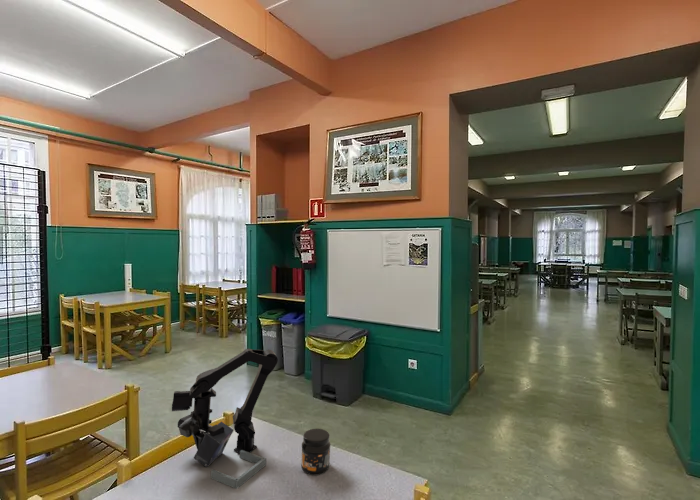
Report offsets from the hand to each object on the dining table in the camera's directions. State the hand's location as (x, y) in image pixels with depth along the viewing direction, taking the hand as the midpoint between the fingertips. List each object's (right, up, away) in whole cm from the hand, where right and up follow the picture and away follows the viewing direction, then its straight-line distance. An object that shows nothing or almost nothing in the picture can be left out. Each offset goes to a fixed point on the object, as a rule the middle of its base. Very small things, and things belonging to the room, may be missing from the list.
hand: (199, 449), depth 135 cm
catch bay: (+18, -3, -8) cm, 20 cm away
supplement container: (+44, -5, -4) cm, 45 cm away
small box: (+4, -2, -2) cm, 5 cm away
